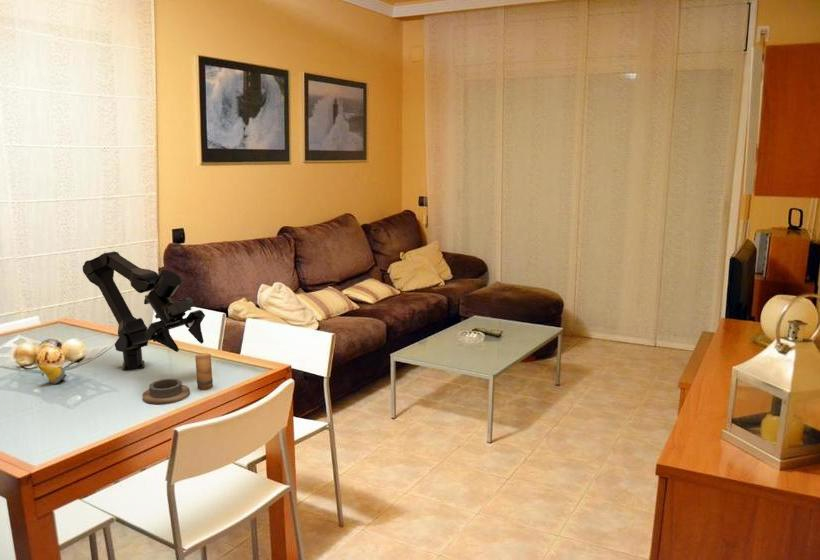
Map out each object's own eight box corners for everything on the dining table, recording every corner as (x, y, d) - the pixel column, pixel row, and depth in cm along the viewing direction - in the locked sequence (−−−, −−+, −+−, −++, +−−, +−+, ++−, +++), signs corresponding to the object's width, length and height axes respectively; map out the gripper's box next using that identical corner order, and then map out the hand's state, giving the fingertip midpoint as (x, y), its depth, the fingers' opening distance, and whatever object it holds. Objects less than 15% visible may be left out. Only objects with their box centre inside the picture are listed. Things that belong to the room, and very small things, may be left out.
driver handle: (197, 385, 205) (194, 354, 203) (212, 383, 206) (210, 352, 204) (197, 390, 201) (195, 358, 199) (213, 388, 202) (211, 357, 200)
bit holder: (143, 390, 201) (142, 379, 200) (189, 385, 205) (188, 374, 205) (141, 407, 189) (140, 395, 188) (190, 400, 193) (189, 389, 193)
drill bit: (70, 384, 208) (43, 369, 200) (57, 390, 209) (29, 375, 202) (73, 369, 211) (47, 354, 204) (60, 375, 212) (34, 360, 205)
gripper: (147, 297, 195) (176, 339, 192) (198, 284, 211) (226, 323, 207) (132, 319, 201) (160, 361, 198) (183, 305, 217) (210, 344, 213)
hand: (190, 346), depth 204 cm, fingers open, 9 cm apart
